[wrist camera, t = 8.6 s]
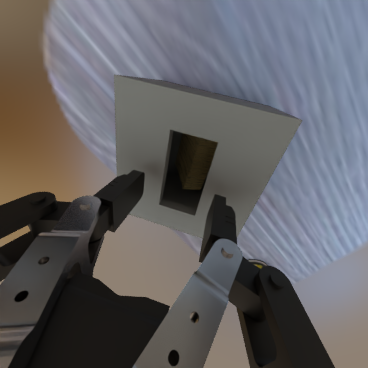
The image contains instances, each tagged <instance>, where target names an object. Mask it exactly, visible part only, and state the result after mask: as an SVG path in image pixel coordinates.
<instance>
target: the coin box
mask: <svg viewBox="0 0 368 368" xmlns="http://www.w3.org/2000/svg"><path fill="white" fill-rule="evenodd" d="M114 89H115V125H116V162H117V177H118V176H120V175H123V174H126V175H127V174H129V173H130V172H131V171H132V170H137V171H141V172H144V173H145V181H144V192H143V195H142V198H141V199H140V201H139V202H138V203H137V204H136V206H135V207H134V208H133V209H132V211H131V212H130V213H129V215H133V216H136V217H139V218H142V219H145V220H148V221H151V222H154V223H157V224H160V225H163V226H166V227H169V228H172V229H175V230H178V231H181V232H184V233H187V234H191V235H194V236H197V237H200V238H203V235H204V229H205V223H206V218H207V214H208V211H209V208H210V206H211V203H212V200H213V198H214V195H215V194H217V195H221V196H224V197H226V205H228V206H231V207H232V208H233V210H234V211H235V216H236V219H235V220H236V235H237V237H238V235H239V233H240V231H241V229H242V228H243V226H244V224H245V222H246V220H247V219H248V217H249V215H250V213H251V211H252V210H253V208H254V206H255V204H256V202H257V201H258V199H259V197H260V195H261V194H262V192H263V190H264V188H265V186H266V185H267V183H268V181H269V179H270V177H271V176H272V174H273V172H274V170H275V168H276V167H277V165H278V163H279V161H280V159H281V158H282V156H283V154H284V152H285V151H286V149H287V147H288V145H289V143H290V142H291V140H292V138H293V136H294V134H295V133H296V131H297V129H298V127H299V125H300V124H301V122H302V120H301V119H298V118H296V117H294V116H291V115H289V114H287V113H284V112H282V111H280V110H277V109H275V108H273V107H270V106H267V105H263V104H258V103H254V102H250V101H246V100H242V99H237V98H233V97H229V96H225V95H221V94H217V93H212V92H208V91H204V90H200V89H196V88H191V87H187V86H183V85H179V84H175V83H171V82H166V81H162V80H154V79H146V78H138V77H130V76H121V75H114ZM183 133H185V134H189V135H192V136H196V137H200V138H204V139H207V140H211V141H215V142H218V144H217V147H216V150H215V153H214V156H213V159H212V163H211V166H210V168H209V171H208V173H207V175H206V178H205V180H204V182H203V185H202V187H201V189H200V190H190V189H183V187H182V183H181V180H180V177H179V174H178V170H177V167H176V164H175V161H176V157H177V154H178V150H179V146H180V142H181V138H182V134H183Z"/></svg>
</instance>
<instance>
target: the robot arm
mask: <svg viewBox="0 0 368 368" xmlns="http://www.w3.org/2000/svg"><path fill="white" fill-rule="evenodd" d="M144 181H145V173H144V172H141V171H137V170H132V171H131V172H130V173H129V174H127V175H126V174H123V175H120V176H118V177H116V178H115V179H114V180H113V181H111V182H110V183H109V184H108V185H106V186H105V187H104V188H102V189H101V190H100V191H99V192H97V193H96V194H95V195H94V196H82V197H79V198H77V199H75V200H73V201H72V202H60V201H56V198H55V195H54V194H52V193H50V192H36V193H32V194H30V195H27V196H24V197H21V198H19V199H16V200H14V201H11V202H8V203H6V204H3V205H1V206H0V239H1V238H3V237H5V236H7V235H9V234H11V233H13V232H15V231H17V230H19V229H21V228H23V227H25V226H27V225H28V226H29V229H30V232H28V233H26V234H24V235H22V236H20V237H19V238H17V239H15V240H13V241H11V242H9V243H7V244H5V245H4V246H2V247H0V281H2V280H3V279H4V281H3V282H2V283H1V285H0V368H203V366H204V364H205V361H206V358H207V356H208V353H209V351H210V348H211V346H212V343H213V340H214V338H215V335H216V332H217V330H218V327H219V324H220V322H221V319H222V316H223V314H224V311H225V309H226V306H227V303H228V301H230V302H231V303H232V304H233V305H235V306H236V307H237V312H238V316H239V320H240V325H241V329H242V334H243V338H244V342H245V347H246V351H247V355H248V359H249V364H250V368H335V367H334V365H333V363H332V361H331V359H330V357H329V355H328V353H327V352H326V350H325V348H324V346H323V344H322V342H321V340H320V338H319V336H318V334H317V332H316V330H315V329H314V327H313V325H312V323H311V321H310V319H309V317H308V315H307V313H306V311H305V309H304V307H303V305H302V304H301V302H300V300H299V298H298V296H297V294H296V292H295V290H294V288H293V286H292V284H291V283H290V281H289V279H288V278H287V277H286V276H285V274H283V273H282V272H281V271H280V270H278V269H277V268H275V267H272V266H263V267H262V268H261V269H260V268H259V267H257V266H255V265H254V264H252V263H251V262H249V261H248V260H246V259H245V258H244V257H243V256H242V252H241V250H240V248H239V247H238V246H237V235H236V220H235V219H236V216H235V211H234V210H233V208H232V207H231V206H228V205H226V197H224V196H221V195H217V194H215V195H214V198H213V200H212V203H211V206H210V208H209V211H208V214H207V218H206V223H205V229H204V235H203V240H202V246H201V252H200V258H199V262H201V263H202V264H201V265H200V267H199V269H198V270H197V271H196V272H195V273H194V274H193V275H192V277H191V278H190V280H189V281H188V283H187V284H186V286H185V287H184V289H183V290H182V292H181V293H180V295H179V297H178V298H177V300H176V301H175V303H174V304H173V306H172V307H171V309H170V310H169V307H170V306H168V305H165V304H163V303H160V302H157V301H154V300H152V299H149V298H147V297H132V296H119V295H117V294H116V293H114V292H113V291H112V290H111V289H109V288H108V287H107V286H106V285H105V284H103V283H102V282H101V281H100V280H98V279H96V278H93V270H94V266H95V263H96V261H97V258H98V254H99V251H100V249H101V246H102V243H103V240H104V234H105V233H106V231H107V230H109V231H112V232H115V231H116V229H117V228H118V227H119V226H120V224H121V223H122V222H123V220H124V219H125V218H126V217H127V215H128V214H129V213H130V212H131V211H132V209H133V208H134V207H135V206H136V204H137V203H138V202H139V201H140V199H141V198H142V195H143V192H144ZM168 311H169V312H168Z"/></svg>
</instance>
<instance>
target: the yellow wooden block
mask: <svg viewBox="0 0 368 368" xmlns="http://www.w3.org/2000/svg"><path fill="white" fill-rule="evenodd" d="M217 144H218V142H215V141H211V140H207V139H204V138H200V137H196V136H192V135H189V134H185V133H183V134H182V138H181V142H180V146H179V150H178V154H177V157H176V161H175V164H176V167H177V170H178V174H179V177H180V180H181V183H182V187H183V189H190V190H200V189H201V187H202V185H203V182H204V180H205V178H206V175H207V173H208V171H209V168H210V166H211V163H212V159H213V156H214V153H215V150H216V147H217Z"/></svg>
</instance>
